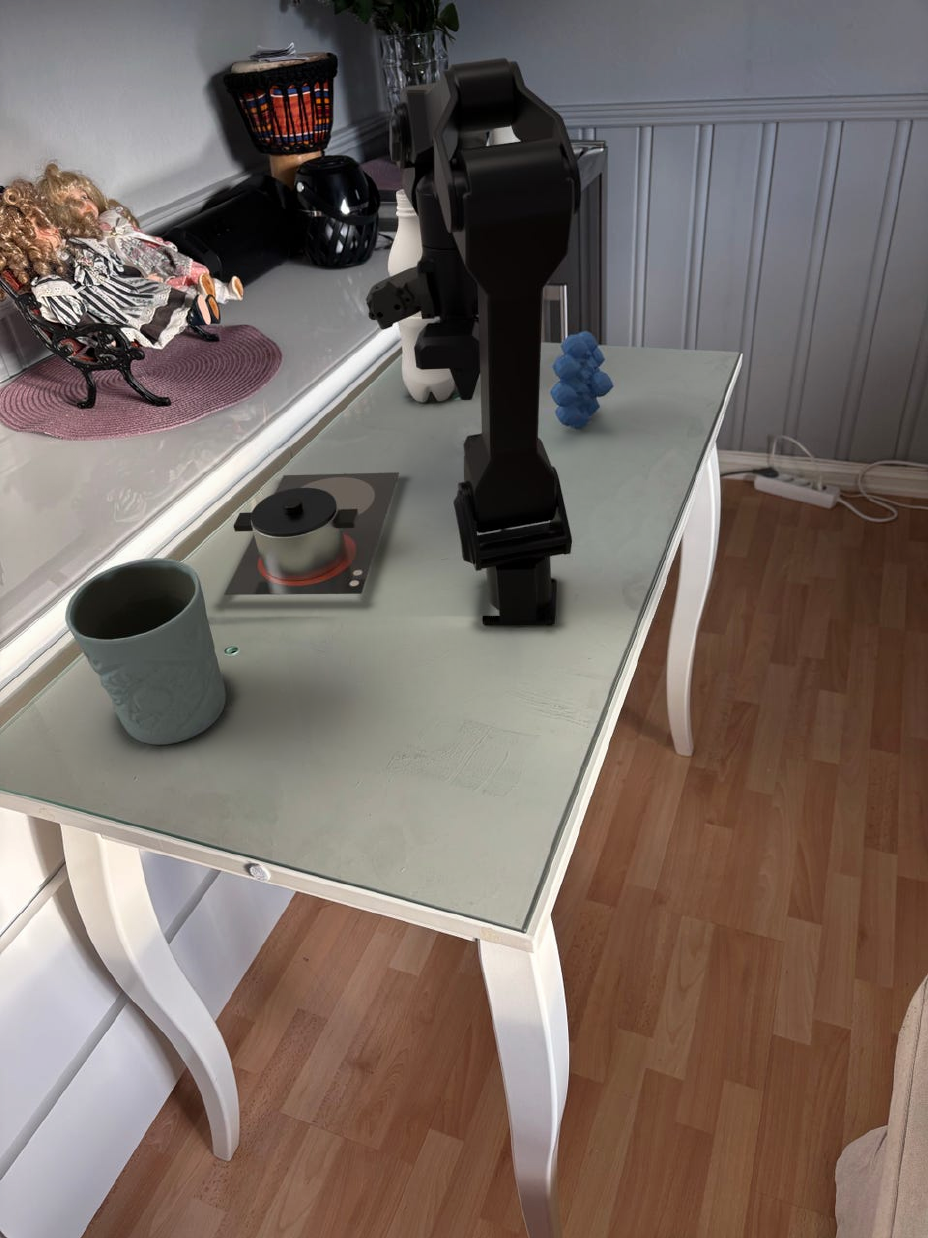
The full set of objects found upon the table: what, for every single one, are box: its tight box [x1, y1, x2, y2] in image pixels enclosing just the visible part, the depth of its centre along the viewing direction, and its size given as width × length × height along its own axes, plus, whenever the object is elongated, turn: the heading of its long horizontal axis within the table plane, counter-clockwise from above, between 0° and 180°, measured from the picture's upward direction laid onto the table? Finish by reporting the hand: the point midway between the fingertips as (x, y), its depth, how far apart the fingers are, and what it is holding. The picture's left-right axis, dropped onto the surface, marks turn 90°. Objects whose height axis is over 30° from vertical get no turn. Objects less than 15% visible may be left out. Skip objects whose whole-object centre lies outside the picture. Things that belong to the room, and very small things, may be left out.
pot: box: [232, 488, 358, 581], centre depth 88 cm, size 8×12×6 cm
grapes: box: [549, 330, 615, 430], centre depth 105 cm, size 12×7×12 cm, turn 152°
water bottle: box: [387, 188, 456, 403], centre depth 112 cm, size 7×7×25 cm
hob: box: [223, 471, 400, 596], centre depth 95 cm, size 23×14×1 cm, turn 174°
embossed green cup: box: [64, 557, 227, 746], centre depth 72 cm, size 10×10×12 cm
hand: (466, 398), depth 93 cm, fingers closed
